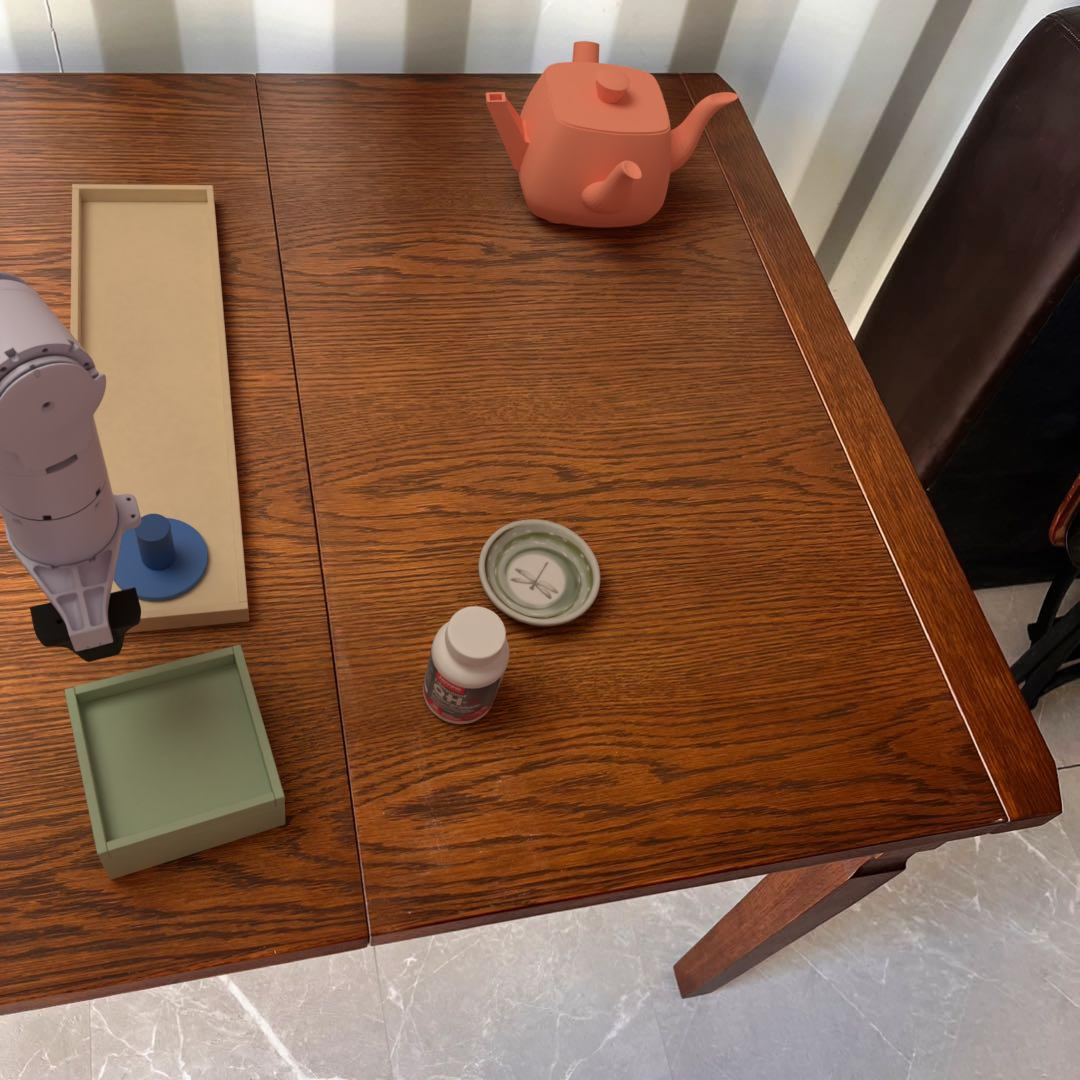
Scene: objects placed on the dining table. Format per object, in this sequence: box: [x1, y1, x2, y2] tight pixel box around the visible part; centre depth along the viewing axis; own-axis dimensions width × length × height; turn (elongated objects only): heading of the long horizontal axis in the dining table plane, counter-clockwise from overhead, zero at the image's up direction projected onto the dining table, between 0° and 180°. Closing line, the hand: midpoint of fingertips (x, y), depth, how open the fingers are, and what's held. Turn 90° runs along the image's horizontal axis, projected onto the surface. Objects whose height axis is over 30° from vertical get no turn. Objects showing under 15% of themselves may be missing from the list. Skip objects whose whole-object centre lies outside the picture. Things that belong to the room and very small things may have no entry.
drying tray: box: [69, 183, 250, 634], centre depth 89 cm, size 45×12×2 cm, turn 12°
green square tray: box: [64, 644, 286, 881], centre depth 71 cm, size 11×11×6 cm
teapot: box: [485, 40, 739, 228], centre depth 108 cm, size 18×18×14 cm
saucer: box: [477, 518, 601, 627], centre depth 85 cm, size 10×10×2 cm
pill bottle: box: [422, 605, 510, 725], centre depth 76 cm, size 5×5×10 cm
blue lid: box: [113, 514, 208, 602], centre depth 79 cm, size 7×7×5 cm
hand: (90, 601), depth 69 cm, fingers open, 7 cm apart
